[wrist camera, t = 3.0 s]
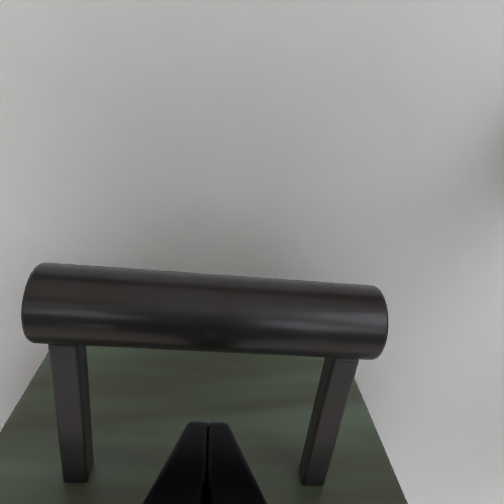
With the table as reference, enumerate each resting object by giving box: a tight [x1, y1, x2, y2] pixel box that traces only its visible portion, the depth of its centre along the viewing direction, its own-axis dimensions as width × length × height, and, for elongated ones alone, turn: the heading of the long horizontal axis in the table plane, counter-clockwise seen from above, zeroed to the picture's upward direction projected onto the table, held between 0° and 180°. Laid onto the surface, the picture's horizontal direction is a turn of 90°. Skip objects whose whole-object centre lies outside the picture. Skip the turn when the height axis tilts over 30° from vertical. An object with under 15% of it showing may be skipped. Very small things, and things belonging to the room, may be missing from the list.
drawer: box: [0, 263, 408, 504], centre depth 14 cm, size 19×11×7 cm, turn 173°
